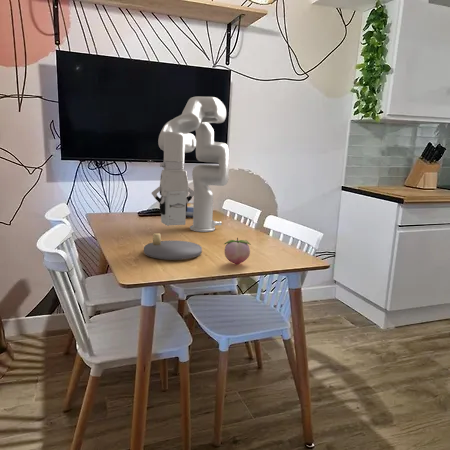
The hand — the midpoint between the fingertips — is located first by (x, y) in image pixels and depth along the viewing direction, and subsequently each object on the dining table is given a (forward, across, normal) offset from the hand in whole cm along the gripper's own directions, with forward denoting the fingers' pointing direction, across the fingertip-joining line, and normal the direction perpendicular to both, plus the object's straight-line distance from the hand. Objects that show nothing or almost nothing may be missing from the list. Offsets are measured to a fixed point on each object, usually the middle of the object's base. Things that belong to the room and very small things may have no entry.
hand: (173, 213), depth 151 cm
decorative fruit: (+16, +18, -19) cm, 31 cm away
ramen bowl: (+16, +32, +73) cm, 81 cm away
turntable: (+16, 0, 0) cm, 16 cm away
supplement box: (+4, 0, 0) cm, 4 cm away
